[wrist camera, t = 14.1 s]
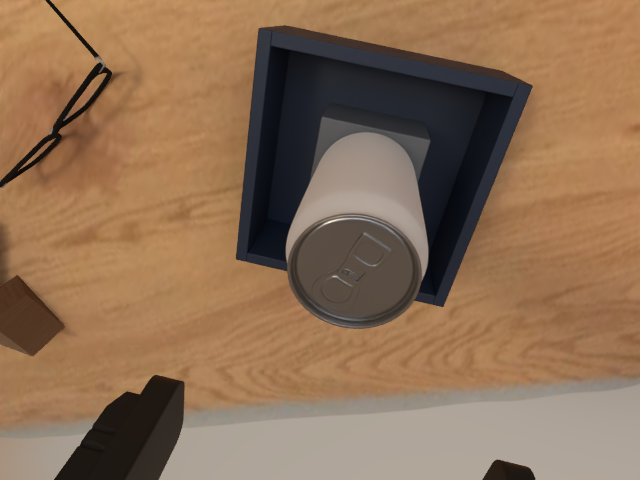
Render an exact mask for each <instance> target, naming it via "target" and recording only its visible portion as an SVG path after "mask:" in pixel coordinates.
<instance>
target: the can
mask: <svg viewBox="0 0 640 480" xmlns="http://www.w3.org/2000/svg"><path fill="white" fill-rule="evenodd" d="M286 259H287V273H288V279H289V283H290V286H291V289H292V291H293V293H294V295H295V296H296V298H297V299H298V301H299V302H300V303H301V304H302V305H303V307H304V308H305V309H307V310H308V311H309V312H310V313H311V314H313V315H314V316H316V317H317V318H319V319H321V320H323V321H325V322H327V323H330V324H332V325H336V326H339V327H344V328H353V329H363V328H371V327H376V326H380V325H383V324H385V323H388V322H390V321H392V320H394V319H395V318H397V317H398V316H400V315H401V314H402V313H404V312H405V311H406V310H407V309H408V308H409V307H410V305H411V304H412V303H413V301H414V300H415V298H416V296H417V294H418V292H419V289H420V285H421V281H422V279H423V277H424V275H425V272H426V269H427V264H428V242H427V235H426V229H425V223H424V217H423V212H422V206H421V201H420V195H419V190H418V185H417V180H416V175H415V170H414V167H413V164H412V161H411V159H410V157H409V156H408V154H407V153H406V151H405V150H404V149H403V148H402V147H401V146H400V145H399V144H398V143H397V142H395V141H394V140H392V139H391V138H389V137H387V136H384V135H381V134H377V133H371V132H360V133H354V134H351V135H348V136H345V137H343V138H341V139H340V140H338V141H336V142H335V143H334V144H333V145H332V146H331V147H330V148H329V149H328V150H327V151H326V152H325V154H324V155H323V157H322V159H321V160H320V162H319V164H318V166H317V169H316V171H315V173H314V175H313V177H312V179H311V181H310V184H309V186H308V188H307V190H306V192H305V195H304V197H303V199H302V201H301V204H300V206H299V208H298V210H297V213H296V215H295V217H294V219H293V222H292V224H291V227H290V230H289V233H288V237H287V242H286Z"/></svg>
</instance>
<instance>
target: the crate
mask: <svg viewBox="0 0 640 480" xmlns="http://www.w3.org/2000/svg"><path fill="white" fill-rule="evenodd" d="M532 87H533V86H532V85H530V84H528V83H526V82H524V81H522V80H520V79H518V78H516V77H514V76H511V75H509V74H507V73H505V72H503V71H500V70H495V69H490V68H485V67H481V66H476V65H471V64H466V63H462V62H457V61H452V60H447V59H443V58H438V57H433V56H428V55H424V54H419V53H414V52H409V51H405V50H400V49H395V48H390V47H385V46H381V45H376V44H371V43H366V42H362V41H357V40H352V39H347V38H343V37H338V36H333V35H328V34H324V33H319V32H314V31H309V30H305V29H300V28H295V27H290V26H285V25H284V26H275V27H265V28H259V30H258V41H257V51H256V61H255V71H254V81H253V91H252V101H251V111H250V121H249V131H248V142H247V152H246V162H245V172H244V182H243V192H242V202H241V212H240V222H239V232H238V242H237V253H236V259H237V260H241V261H247V262H250V263H254V264H258V265H263V266H267V267H271V268H276V269H280V270H284V271H287V259H286V242H287V237H288V233H289V230H290V227H291V224H292V222H293V219H294V217H295V215H296V213H297V210H298V208H299V206H300V204H301V201H302V199H303V197H304V195H305V192H306V190H307V188H308V186H309V184H310V178H311V173H312V167H313V162H314V156H315V151H316V145H317V140H318V134H319V128H320V123H321V117H322V116H323V114H324V113H325V111H326V110H327V108H328V106H329V105H330V103H335V104H340V105H345V106H349V107H354V108H359V109H363V110H368V111H373V112H377V113H382V114H386V115H391V116H396V117H400V118H405V119H410V120H414V121H419V122H424V123H425V126H426V129H427V132H428V135H429V137H430V140H431V141H430V145H429V148H428V151H427V154H426V157H425V161H424V164H423V167H422V170H421V173H420V177H419V180H418V183H417V185H418V190H419V195H420V201H421V206H422V212H423V217H424V223H425V229H426V235H427V242H428V264H427V269H426V272H425V275H424V277H423V279H422V281H421V285H420V289H419V292H418V294H417V296H416V298H415V301H419V302H423V303H428V304H433V305H436V306H441V307H443V306H444V304H445V301H446V299H447V296H448V294H449V292H450V289H451V287H452V284H453V282H454V279H455V277H456V274H457V272H458V269H459V267H460V264H461V262H462V259H463V257H464V255H465V252H466V250H467V247H468V245H469V242H470V240H471V237H472V235H473V232H474V230H475V227H476V225H477V222H478V220H479V218H480V215H481V213H482V210H483V208H484V205H485V203H486V200H487V198H488V195H489V193H490V190H491V188H492V185H493V183H494V181H495V178H496V176H497V173H498V171H499V168H500V166H501V163H502V161H503V158H504V156H505V153H506V151H507V148H508V146H509V144H510V141H511V139H512V136H513V134H514V131H515V129H516V126H517V124H518V121H519V119H520V116H521V114H522V111H523V109H524V107H525V104H526V102H527V99H528V97H529V94H530V92H531V89H532Z"/></svg>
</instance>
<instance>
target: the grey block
mask: <svg viewBox="0 0 640 480" xmlns="http://www.w3.org/2000/svg"><path fill="white" fill-rule="evenodd" d="M360 132H371V133H377V134H381V135H384V136H387V137H389V138H391V139H392V140H394V141H395V142H397V143H398V144H399V145H400V146H401V147H402V148H403V149H404V150H405V151H406V153H407V154H408V156H409V157H410V159H411V161H412V164H413V167H414V170H415V175H416V180H417V183H418V180H419V177H420V173H421V170H422V167H423V164H424V161H425V157H426V154H427V151H428V148H429V145H430V141H431V140H430V137H429V135H428V132H427V129H426V126H425V123H424V122H419V121H414V120H410V119H405V118H400V117H396V116H391V115H386V114H382V113H377V112H373V111H368V110H363V109H359V108H354V107H349V106H345V105H340V104H335V103H330V105H329V106H328V108H327V110H326V111H325V113H324V114H323V116H322V117H321V123H320V128H319V134H318V140H317V145H316V151H315V156H314V162H313V167H312V173H311V178H310V181H311V179H312V177H313V175H314V173H315V171H316V169H317V166H318V164H319V162H320V160H321V159H322V157H323V155H324V154H325V152H326V151H327V150H328V149H329V148H330V147H331V146H332V145H333V144H334V143H335V142H336V141H338V140H340V139H341V138H343V137H345V136H348V135H351V134H354V133H360Z"/></svg>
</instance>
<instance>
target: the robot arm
mask: <svg viewBox="0 0 640 480" xmlns="http://www.w3.org/2000/svg"><path fill="white" fill-rule="evenodd" d="M183 414H184V382H183V381H179V380H175V379H171V378H167V377H163V376H159V375H154V376H153V377H152V378H151V379H150V380H149V382H148V383H147V385H146V386H145V388H144V389H143V391H142V392H141V394H140V395H139V394H135V393H131V392H125V393H124V394H123V395H121V396H120V397H119V398H117V399H116V400H114V401H113V402H112V403H110V404H109V405H108V406H107V407H106V408H105V409H104V411H103V412H102V414H101V415H100V416H99V418H98V419H97V421H96V422H95V423H94V425H93V427H92V429H91V430H89V432H88V433H87V434H86V436H85V437H84V439H83V440H82V442H81V444H80V446H78V447H77V448H76V450H75V451H74V453H73V454H72V455H71V457H70V458H69V460H68V461H67V462H66V464H65V465H64V467H63V468H62V469H61V471H60V472H59V474H58V475H57V477H56V478H55V479H54V480H158V479H159V477H160V476H161V473H162V471H163V469H164V467H165V465H166V463H167V461H168V459H169V457H170V455H171V453H172V451H173V449H174V447H175V445H176V443H177V440H178V438H179V435H180V432H181V429H182V424H183ZM483 480H535V477H534V474H533V472H532V471H531V469H530V468H528V467H526V466H522V465H518V464H514V463H509V462H505V461H501V460H495V461H494V462H493V463H492V465H491V467H490V468H489V470H488V471H487V473H486V475H485V476H484V478H483Z"/></svg>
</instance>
